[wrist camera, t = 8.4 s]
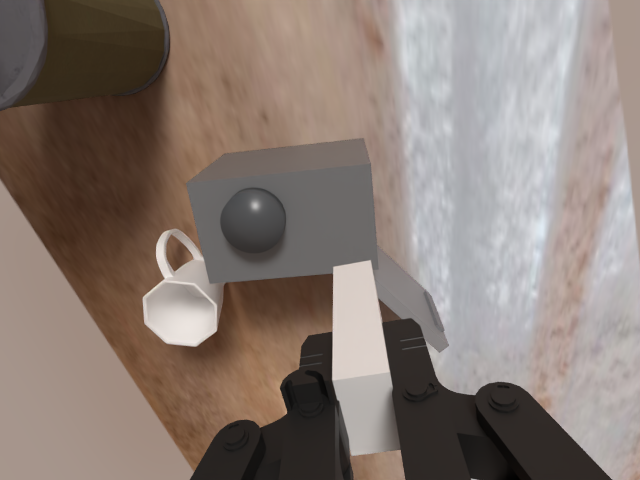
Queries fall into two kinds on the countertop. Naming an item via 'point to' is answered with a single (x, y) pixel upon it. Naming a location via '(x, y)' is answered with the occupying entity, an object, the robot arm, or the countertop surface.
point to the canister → (79, 49)
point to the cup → (183, 298)
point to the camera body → (285, 211)
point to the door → (408, 299)
